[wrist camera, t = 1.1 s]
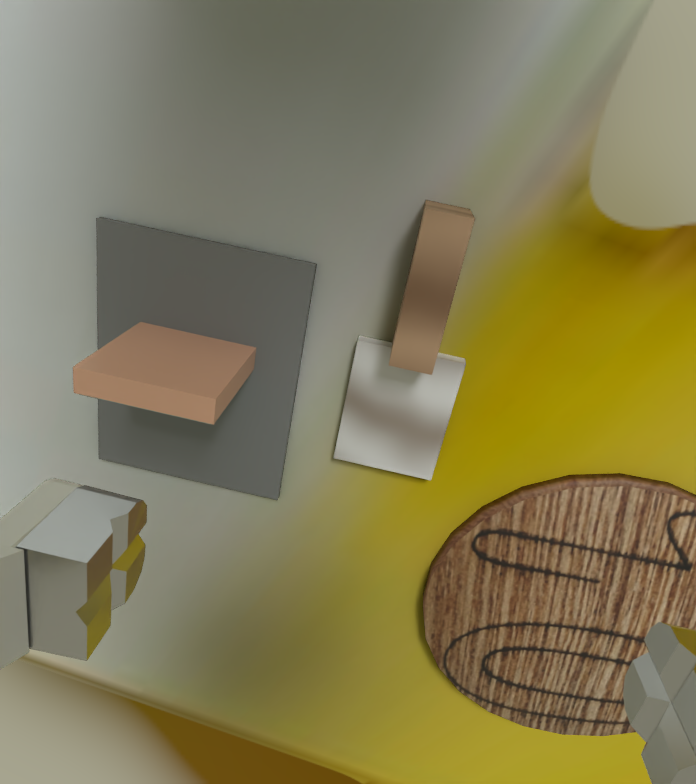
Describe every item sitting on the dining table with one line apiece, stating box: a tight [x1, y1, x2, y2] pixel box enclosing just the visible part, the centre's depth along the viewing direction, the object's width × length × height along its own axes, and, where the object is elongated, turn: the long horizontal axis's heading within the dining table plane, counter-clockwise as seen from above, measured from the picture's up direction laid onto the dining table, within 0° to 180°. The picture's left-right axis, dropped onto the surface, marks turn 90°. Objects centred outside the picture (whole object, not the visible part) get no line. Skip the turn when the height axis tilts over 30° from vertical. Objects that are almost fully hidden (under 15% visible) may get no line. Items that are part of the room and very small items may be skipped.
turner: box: [334, 200, 475, 480], centre depth 35 cm, size 18×7×4 cm, turn 169°
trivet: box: [423, 473, 696, 736], centre depth 43 cm, size 25×25×2 cm
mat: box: [96, 217, 317, 500], centre depth 39 cm, size 18×14×1 cm
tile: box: [73, 322, 256, 425], centre depth 34 cm, size 2×8×8 cm, turn 79°
